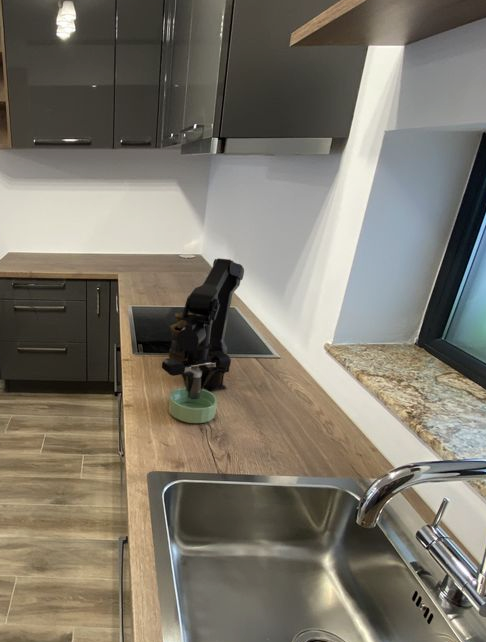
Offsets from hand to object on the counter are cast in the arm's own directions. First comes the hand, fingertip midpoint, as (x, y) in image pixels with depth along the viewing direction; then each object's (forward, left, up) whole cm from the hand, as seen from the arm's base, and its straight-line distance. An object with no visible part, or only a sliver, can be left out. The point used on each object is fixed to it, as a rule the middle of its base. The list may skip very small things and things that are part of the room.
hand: (194, 390), depth 125 cm
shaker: (0, 0, -2) cm, 2 cm away
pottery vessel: (-15, -31, -8) cm, 35 cm away
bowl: (0, 0, -7) cm, 7 cm away
